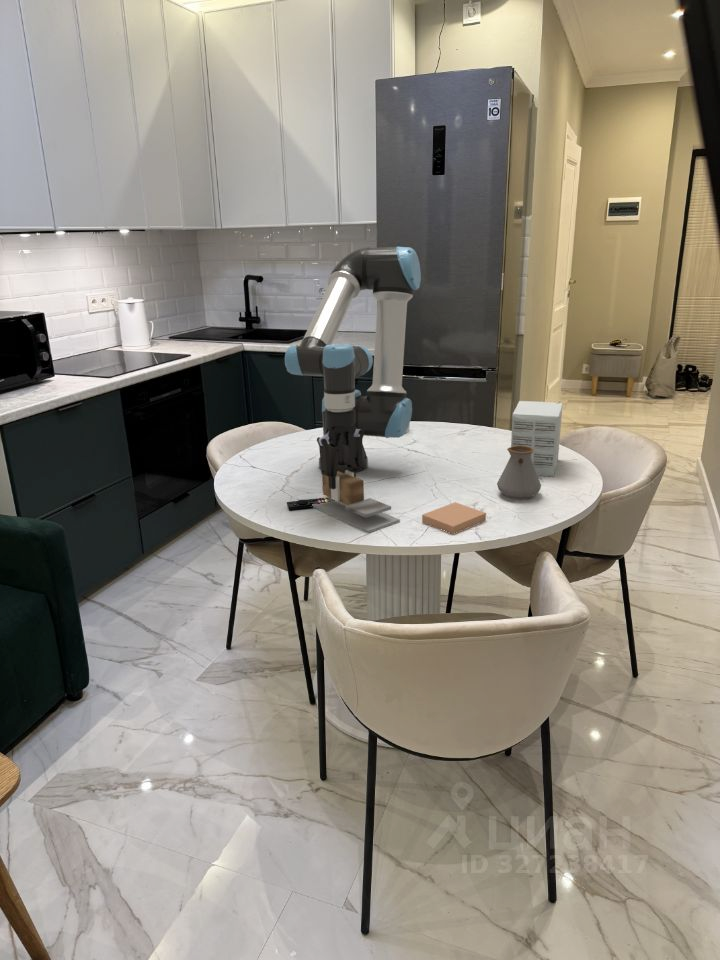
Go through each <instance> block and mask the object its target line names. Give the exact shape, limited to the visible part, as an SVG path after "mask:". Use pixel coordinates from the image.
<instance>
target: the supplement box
mask: <svg viewBox="0 0 720 960" xmlns="http://www.w3.org/2000/svg"><path fill="white" fill-rule="evenodd" d="M562 415H563V402H551V401H550V402H548V401H534V400H533V401H531V400H518V403H517V405H516V407H515V408H514V411H513V412H512V415H511V417H512V420H511V440H510V447H513V446H527V447H530V448H532V449H533V450H534V451H533V452H532V454H531V460H532V463H533V465H534V468H535V471H536V473H537V476H540V477H541V476H542V477H543V476H544V477H555V471H556V468H557V464H558V460H559V453H560V451H559V450H560V438H561V427H562V426H561V425H562ZM510 457H511V455H510ZM510 457H509V458H510Z"/></svg>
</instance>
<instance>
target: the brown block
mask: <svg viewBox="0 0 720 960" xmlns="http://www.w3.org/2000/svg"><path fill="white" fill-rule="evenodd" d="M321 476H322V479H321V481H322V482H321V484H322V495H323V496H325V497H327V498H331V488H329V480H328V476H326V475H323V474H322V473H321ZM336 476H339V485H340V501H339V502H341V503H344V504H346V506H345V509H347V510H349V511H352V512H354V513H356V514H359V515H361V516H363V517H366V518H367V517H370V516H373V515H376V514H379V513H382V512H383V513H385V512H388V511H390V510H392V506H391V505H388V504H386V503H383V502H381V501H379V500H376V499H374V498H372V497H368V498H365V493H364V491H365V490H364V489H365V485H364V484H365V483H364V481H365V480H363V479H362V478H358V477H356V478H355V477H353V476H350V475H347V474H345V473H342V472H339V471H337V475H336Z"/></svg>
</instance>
